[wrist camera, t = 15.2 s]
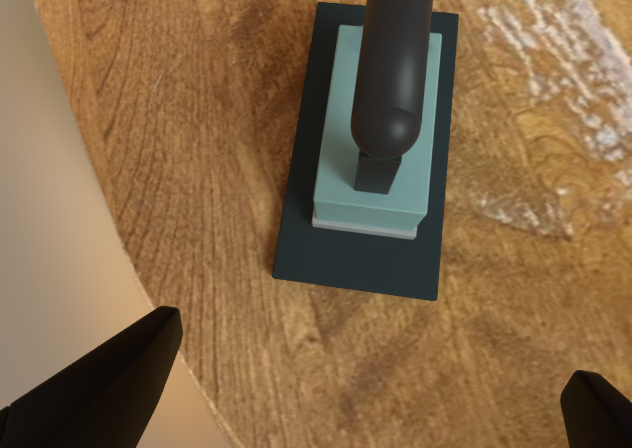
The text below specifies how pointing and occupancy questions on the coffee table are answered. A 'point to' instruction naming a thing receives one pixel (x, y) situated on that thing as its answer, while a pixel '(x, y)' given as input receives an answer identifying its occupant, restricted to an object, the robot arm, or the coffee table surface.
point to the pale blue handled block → (380, 122)
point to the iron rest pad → (296, 224)
